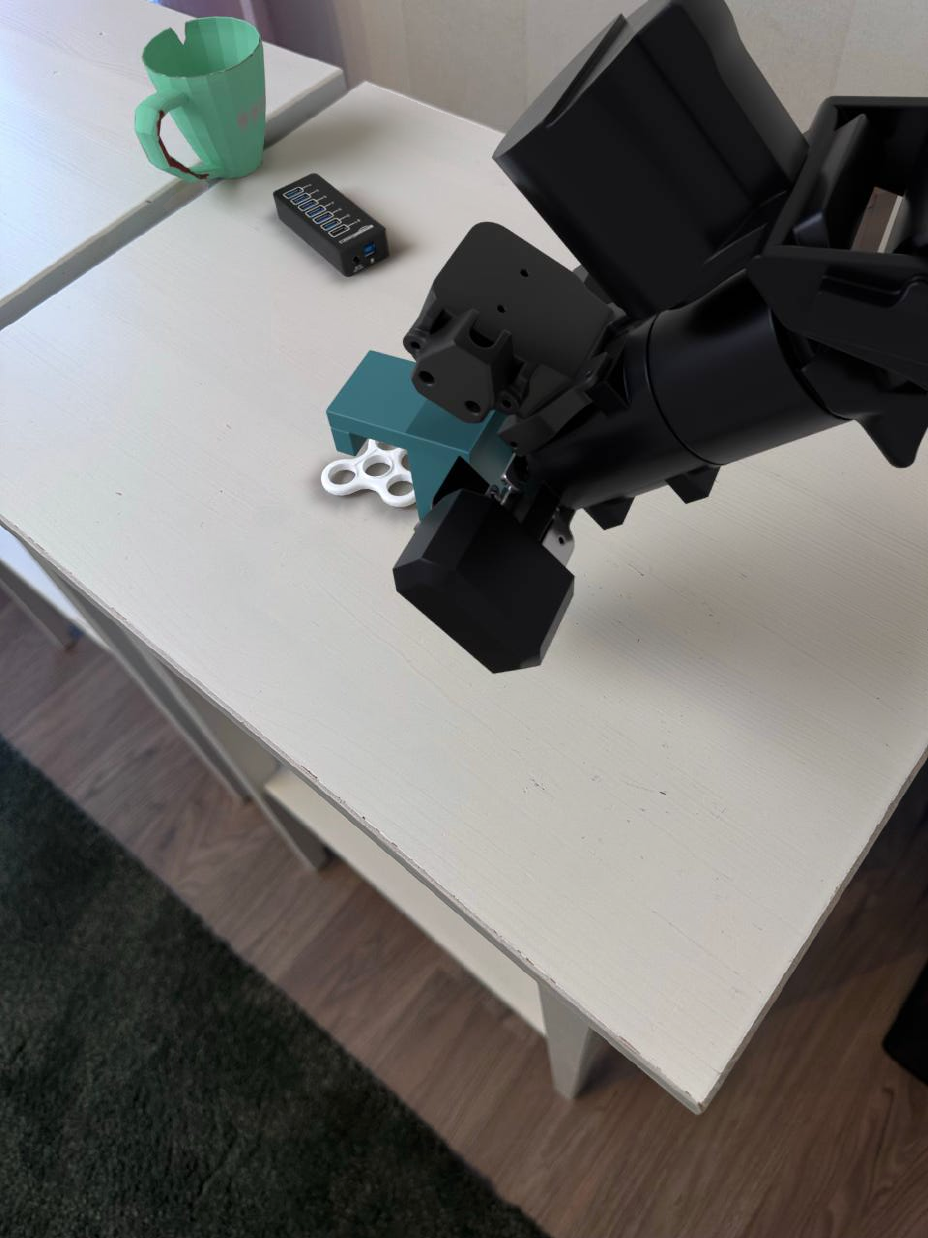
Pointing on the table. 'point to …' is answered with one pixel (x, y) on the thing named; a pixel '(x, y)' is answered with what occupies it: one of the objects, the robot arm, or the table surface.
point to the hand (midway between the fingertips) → (442, 500)
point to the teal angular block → (413, 426)
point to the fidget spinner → (371, 482)
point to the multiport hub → (331, 224)
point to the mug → (206, 97)
